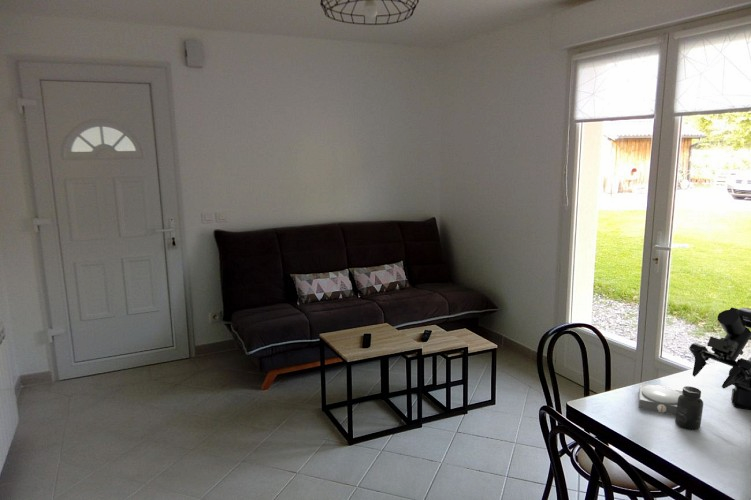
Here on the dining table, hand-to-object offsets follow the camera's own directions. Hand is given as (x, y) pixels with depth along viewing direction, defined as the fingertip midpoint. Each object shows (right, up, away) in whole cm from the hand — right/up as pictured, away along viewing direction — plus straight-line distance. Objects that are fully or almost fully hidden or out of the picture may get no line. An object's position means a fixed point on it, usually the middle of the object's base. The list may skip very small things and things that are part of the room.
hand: (707, 381), depth 162 cm
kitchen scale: (-8, -11, +13) cm, 19 cm away
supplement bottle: (-7, -14, 0) cm, 15 cm away
